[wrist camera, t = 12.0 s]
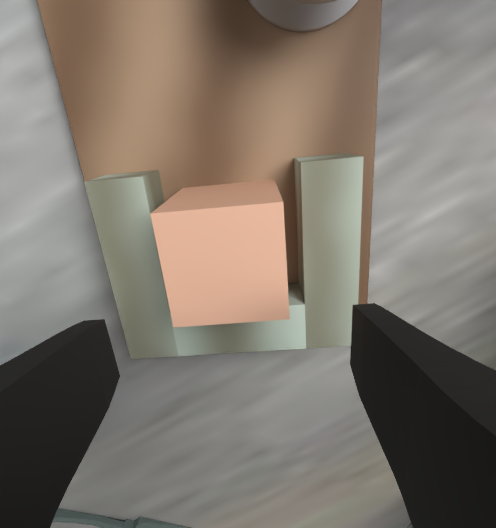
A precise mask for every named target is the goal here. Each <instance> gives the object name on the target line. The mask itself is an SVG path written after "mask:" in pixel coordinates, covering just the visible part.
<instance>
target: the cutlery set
mask: <svg viewBox="0 0 496 528" xmlns="http://www.w3.org/2000/svg"><path fill="white" fill-rule="evenodd" d="M52 522H65V523H78V524H87V525H94V526H98V527H101V528H190V527H185V526H180V525H175V524H171V523H166V522H161V521H156V520H152V519H148V518H142V517H139V518H138V519H137V520H135V521H132V520H129V519H126V521H125V522H123V521H119V520H115V519H111V518H107V517H104V516H99V515H93V514H87V513H81V512H75V511H69V510H63V509H57V511H56V514H55V516H54V519H53V521H52Z"/></svg>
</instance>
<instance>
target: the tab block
mask: <svg viewBox="0 0 496 528" xmlns="http://www.w3.org/2000/svg"><path fill="white" fill-rule="evenodd" d="M150 215H151V220H152V225H153V229H154V234H155V239H156V244H157V249H158V254H159V259H160V264H161V269H162V274H163V279H164V283H165V288H166V293H167V298H168V303H169V308H170V313H171V318H172V323H173V327H187V326H202V325H216V324H230V323H244V322H259V321H273V320H287V319H290V315H289V297H288V278H287V260H286V242H285V224H284V206H283V200H282V197H281V195H280V192H279V190H278V187H277V185H276V182H275V180H263V181H252V182H242V183H231V184H220V185H209V186H198V187H188V188H182V189H181V190H180V191H178V192H177V193H176V194H175V195H173V196H172V197H171V198H169V199H168V200H167V201H166V202H164V203H163V204H162V205H161V206H159V207H158V208H157V209H156V210H154V211H153V212H152V213H150Z"/></svg>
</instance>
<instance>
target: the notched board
mask: <svg viewBox="0 0 496 528" xmlns="http://www.w3.org/2000/svg"><path fill="white" fill-rule="evenodd" d="M37 2H38V6H39V9H40V13H41V17H42V21H43V25H44V29H45V32H46V36H47V40H48V44H49V48H50V51H51V55H52V59H53V63H54V67H55V70H56V74H57V78H58V82H59V86H60V89H61V93H62V97H63V101H64V105H65V109H66V112H67V116H68V120H69V124H70V128H71V131H72V135H73V139H74V143H75V147H76V150H77V154H78V158H79V162H80V166H81V169H82V173H83V177H84V181H85V182H84V184H85V188H86V191H87V195H88V199H89V203H90V207H91V210H92V214H93V218H94V222H95V226H96V229H97V233H98V237H99V241H100V245H101V248H102V252H103V256H104V260H105V264H106V267H107V271H108V275H109V279H110V283H111V286H112V290H113V294H114V298H115V302H116V305H117V309H118V313H119V317H120V321H121V324H122V328H123V332H124V336H125V340H126V343H127V347H128V351H129V355H130V358H131V359H143V358H159V357H176V356H192V355H208V354H225V353H241V352H257V351H273V350H290V349H306V348H322V347H338V346H351V334H352V308H353V305H357V304H367V299H368V278H369V257H370V237H371V216H372V195H373V174H374V153H375V132H376V111H377V90H378V69H379V48H380V27H381V6H382V0H37ZM263 180H275V182H276V185H277V187H278V190H279V192H280V195H281V197H282V200H283V206H284V224H285V242H286V260H287V278H288V297H289V315H290V319H287V320H273V321H259V322H244V323H230V324H216V325H202V326H187V327H173V323H172V318H171V313H170V308H169V303H168V298H167V293H166V288H165V283H164V279H163V274H162V269H161V264H160V259H159V254H158V249H157V244H156V239H155V234H154V229H153V225H152V220H151V215H150V213H152V212H153V211H154V210H156V209H157V208H158V207H159V206H161V205H162V204H163V203H164V202H166V201H167V200H168V199H169V198H171V197H172V196H173V195H175V194H176V193H177V192H178V191H180V190H181V189H182V188H188V187H198V186H209V185H220V184H231V183H242V182H252V181H263Z"/></svg>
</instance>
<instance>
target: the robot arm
mask: <svg viewBox="0 0 496 528" xmlns="http://www.w3.org/2000/svg"><path fill="white" fill-rule="evenodd" d="M350 365H351V368H352V372H353V376H354V379H355V383H356V386H357V389H358V392H359V396H360V398H361V401H362V403H363V405H364V408H365V410H366V412H367V415H368V417H369V419H370V422H371V424H372V426H373V428H374V431H375V433H376V435H377V437H378V440H379V442H380V444H381V446H382V449H383V451H384V453H385V456H386V458H387V460H388V462H389V465H390V467H391V469H392V471H393V474H394V476H395V479H396V481H397V484H398V486H399V489H400V491H401V494H402V497H403V500H404V503H405V506H406V509H407V511H408V514H409V517H410V520H411V523H412V526H413V528H496V370H493V369H491V368H489V367H487V366H485V365H483V364H481V363H479V362H477V361H475V360H473V359H471V358H469V357H467V356H465V355H463V354H462V353H460V352H458V351H456V350H454V349H452V348H450V347H448V346H447V345H445V344H443V343H441V342H439V341H438V340H436V339H434V338H432V337H431V336H429V335H427V334H426V333H424V332H422V331H420V330H419V329H417V328H415V327H414V326H412V325H411V324H409V323H407V322H406V321H404V320H402V319H401V318H399V317H397V316H396V315H394V314H393V313H391V312H389V311H388V310H386V309H384V308H382V307H381V306H379V305H377V304H375V303H374V304H357V305H353V308H352V334H351V359H350ZM119 377H120V375H119V371H118V367H117V364H116V360H115V356H114V353H113V349H112V345H111V342H110V338H109V334H108V331H107V327H106V323H105V320H88V321H83V322H80V323H78V324H76V325H73V326H71V327H69V328H68V329H66V330H64V331H62V332H60V333H58V334H56V335H54V336H53V337H51V338H49V339H47V340H46V341H44V342H42V343H40V344H38V345H37V346H35V347H33V348H31V349H30V350H28V351H26V352H24V353H22V354H21V355H19V356H17V357H15V358H14V359H12V360H10V361H8V362H6V363H4V364H2V365H1V366H0V528H50V526H51V524H52V521H53V519H54V516H55V514H56V511H57V509H58V507H59V504H60V502H61V500H62V498H63V496H64V494H65V492H66V490H67V488H68V486H69V484H70V482H71V480H72V478H73V476H74V474H75V472H76V470H77V468H78V466H79V464H80V463H81V461H82V459H83V457H84V455H85V453H86V451H87V449H88V447H89V445H90V443H91V442H92V440H93V438H94V436H95V434H96V432H97V430H98V428H99V426H100V424H101V422H102V420H103V418H104V416H105V414H106V412H107V410H108V408H109V405H110V403H111V400H112V397H113V395H114V392H115V389H116V386H117V383H118V380H119Z"/></svg>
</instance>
